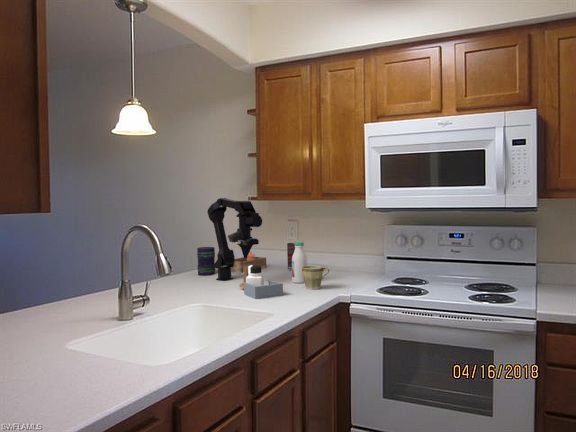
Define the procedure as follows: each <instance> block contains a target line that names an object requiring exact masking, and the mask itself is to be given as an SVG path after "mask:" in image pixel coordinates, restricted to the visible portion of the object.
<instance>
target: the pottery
mask: <svg viewBox="0 0 576 432" xmlns="http://www.w3.org/2000/svg"><path fill="white" fill-rule="evenodd" d="M255 255H256V254H255V253H253V251H250V252H249V254H248V256H247V261H250V260H255V257H256V256H255Z"/></svg>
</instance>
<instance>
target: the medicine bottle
mask: <svg viewBox="0 0 576 432" xmlns="http://www.w3.org/2000/svg"><path fill="white" fill-rule="evenodd" d="M246 283H248V284H251V285H254V286H264V285H265V275H264V274H262V267H261V266H260V265H250V266H249V267H248V276H247V277H246Z"/></svg>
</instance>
